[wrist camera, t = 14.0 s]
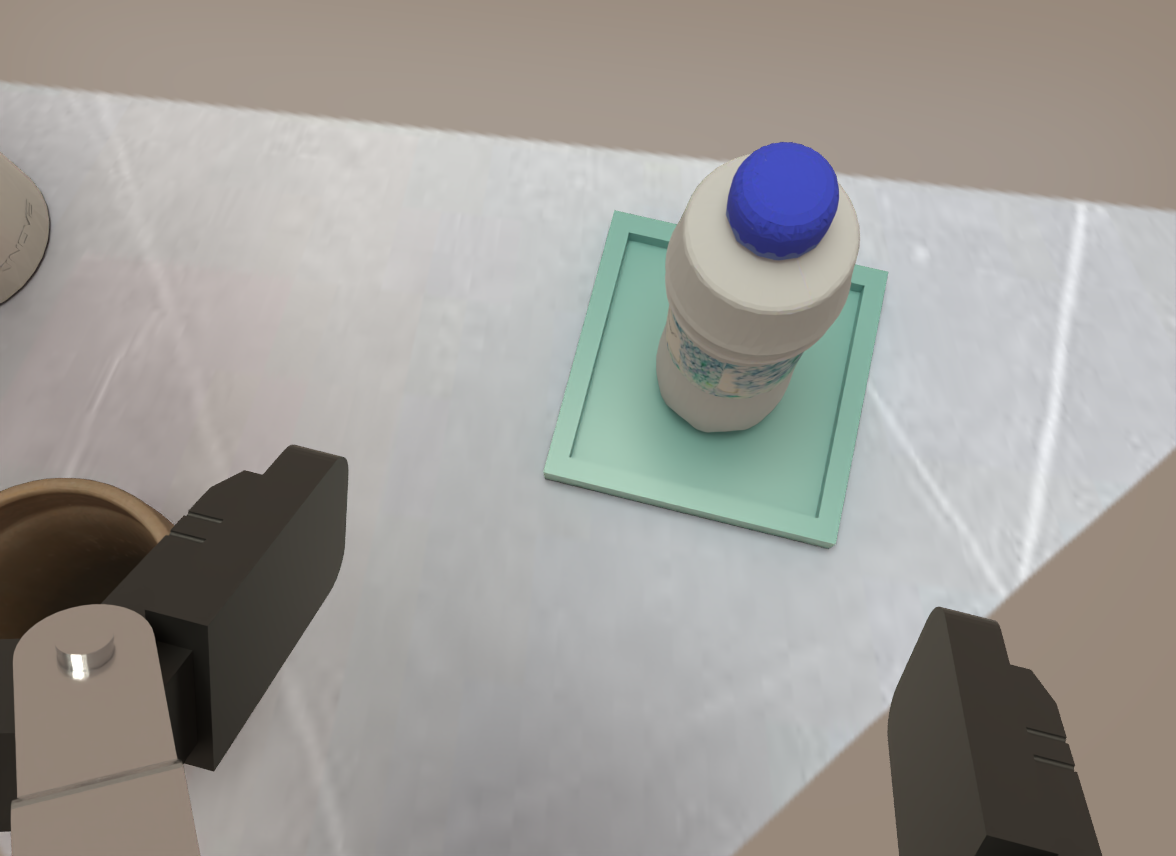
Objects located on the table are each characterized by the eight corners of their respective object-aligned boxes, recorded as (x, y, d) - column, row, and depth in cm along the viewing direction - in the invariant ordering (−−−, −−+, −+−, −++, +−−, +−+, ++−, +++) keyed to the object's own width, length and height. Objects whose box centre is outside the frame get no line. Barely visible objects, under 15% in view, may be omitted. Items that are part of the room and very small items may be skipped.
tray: (545, 478, 49) (543, 472, 47) (614, 223, 52) (614, 210, 51) (828, 548, 48) (835, 544, 46) (880, 283, 51) (888, 271, 50)
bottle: (672, 299, 50) (715, 56, 31) (801, 339, 50) (926, 116, 30) (631, 421, 49) (648, 245, 29) (763, 464, 48) (870, 313, 29)
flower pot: (67, 504, 49) (-66, 457, 39) (295, 534, 48) (216, 494, 39) (1, 749, 46) (-160, 765, 36) (242, 784, 45) (144, 809, 36)
